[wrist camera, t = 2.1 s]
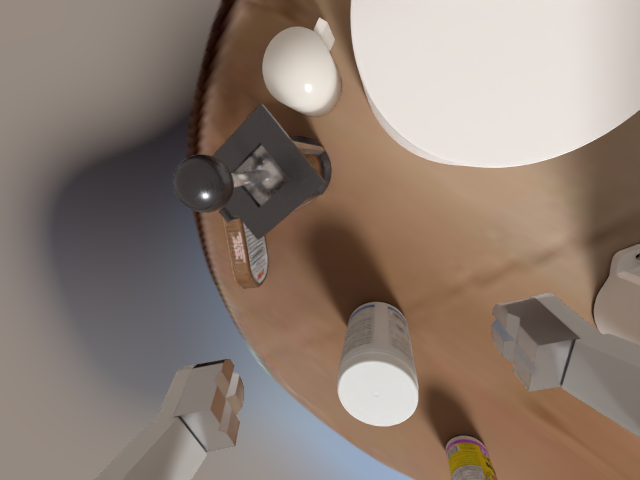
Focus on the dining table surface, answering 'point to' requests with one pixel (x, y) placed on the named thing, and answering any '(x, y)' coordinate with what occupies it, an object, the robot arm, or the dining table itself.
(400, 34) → the plate stack
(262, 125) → the black french press
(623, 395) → the robot arm
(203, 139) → the dining table surface
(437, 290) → the dining table surface
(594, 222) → the dining table surface
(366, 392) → the supplement tub
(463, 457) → the supplement bottle
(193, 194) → the plunger
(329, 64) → the cream mug
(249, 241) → the tin
